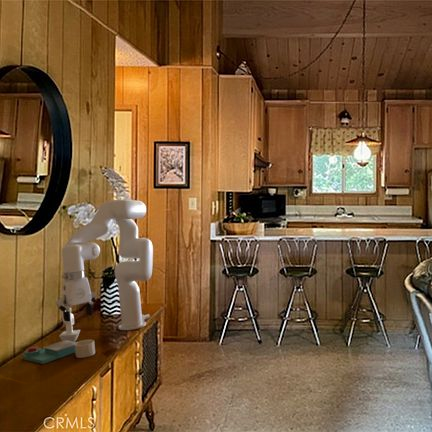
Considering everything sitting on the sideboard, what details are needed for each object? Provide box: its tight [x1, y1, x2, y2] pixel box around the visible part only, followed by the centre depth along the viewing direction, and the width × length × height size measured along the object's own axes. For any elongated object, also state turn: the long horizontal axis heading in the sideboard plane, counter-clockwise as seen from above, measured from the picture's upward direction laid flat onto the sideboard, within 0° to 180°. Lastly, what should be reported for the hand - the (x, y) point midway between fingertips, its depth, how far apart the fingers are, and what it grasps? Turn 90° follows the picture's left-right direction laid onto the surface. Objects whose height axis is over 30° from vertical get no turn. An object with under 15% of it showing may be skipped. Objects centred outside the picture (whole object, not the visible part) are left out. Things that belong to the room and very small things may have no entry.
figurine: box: [58, 307, 81, 342], centre depth 218 cm, size 7×9×15 cm
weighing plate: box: [42, 340, 78, 359], centre depth 201 cm, size 10×10×4 cm
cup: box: [74, 339, 96, 359], centre depth 198 cm, size 7×7×5 cm
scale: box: [22, 347, 59, 365], centre depth 200 cm, size 16×14×3 cm
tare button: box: [27, 345, 38, 352], centre depth 198 cm, size 3×3×2 cm
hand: (78, 317), depth 197 cm, fingers open, 9 cm apart
